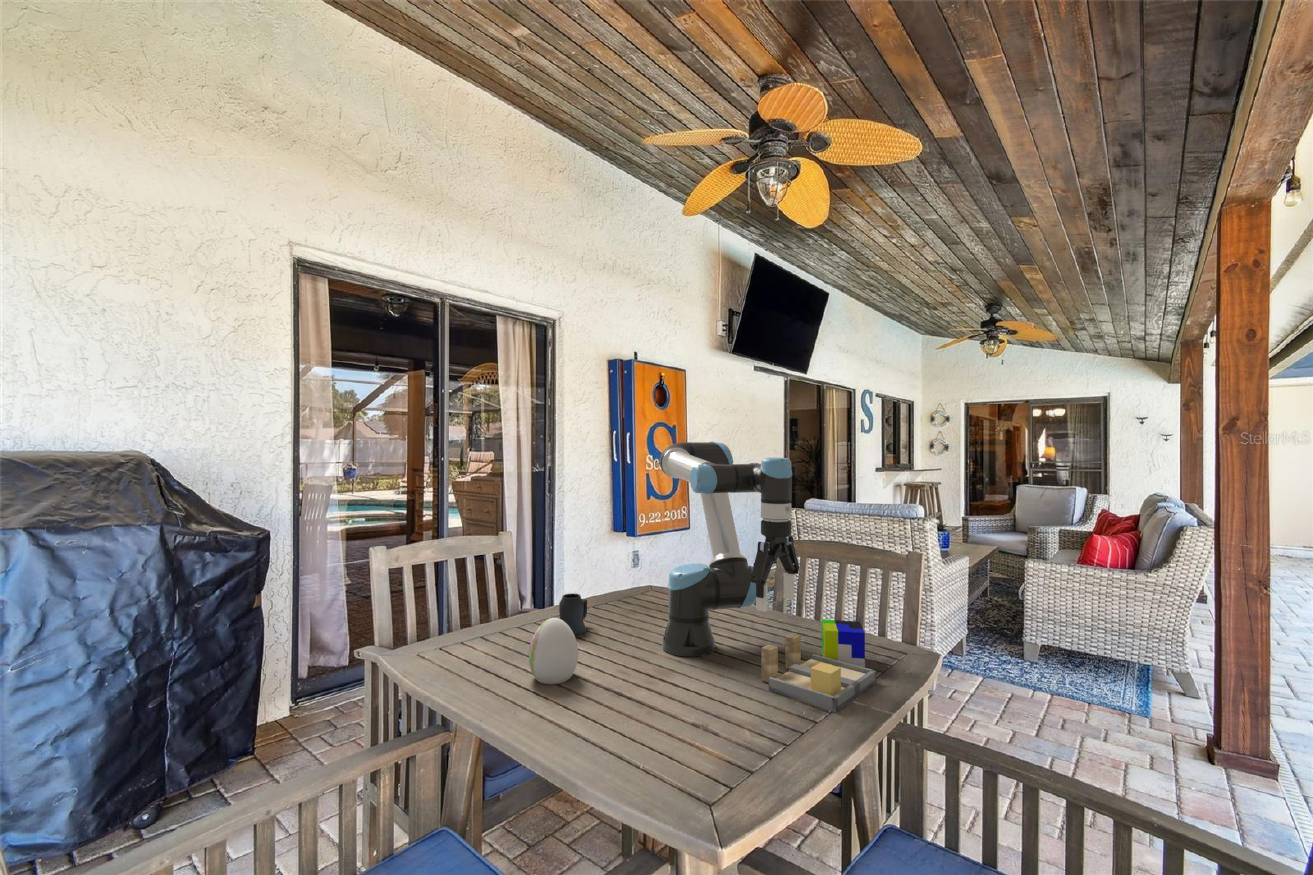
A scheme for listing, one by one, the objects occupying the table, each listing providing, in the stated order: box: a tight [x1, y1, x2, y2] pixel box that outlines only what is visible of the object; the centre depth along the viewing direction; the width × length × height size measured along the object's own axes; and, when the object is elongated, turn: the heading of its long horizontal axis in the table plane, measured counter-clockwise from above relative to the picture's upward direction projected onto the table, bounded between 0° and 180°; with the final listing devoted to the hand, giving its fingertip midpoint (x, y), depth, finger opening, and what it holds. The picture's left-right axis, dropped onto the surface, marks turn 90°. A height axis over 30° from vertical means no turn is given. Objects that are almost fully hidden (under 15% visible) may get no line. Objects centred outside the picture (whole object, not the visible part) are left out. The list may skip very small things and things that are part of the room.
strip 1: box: [784, 633, 832, 669], centre depth 152 cm, size 10×8×8 cm
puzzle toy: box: [821, 619, 866, 668], centre depth 159 cm, size 10×10×10 cm
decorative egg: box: [528, 617, 579, 685], centre depth 148 cm, size 12×12×15 cm
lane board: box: [768, 653, 877, 713], centre depth 143 cm, size 17×22×3 cm
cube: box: [811, 662, 841, 695], centre depth 136 cm, size 5×5×5 cm
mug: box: [558, 592, 588, 637], centre depth 187 cm, size 12×9×11 cm
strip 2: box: [761, 644, 845, 696], centre depth 141 cm, size 19×8×8 cm, turn 47°
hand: (775, 604), depth 147 cm, fingers open, 13 cm apart
